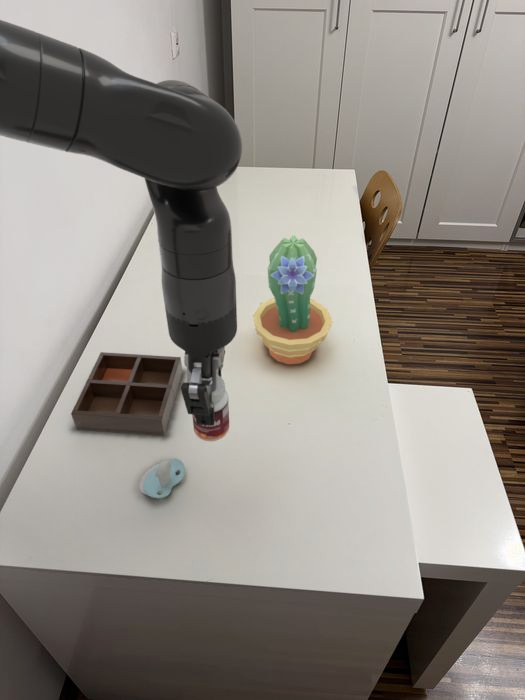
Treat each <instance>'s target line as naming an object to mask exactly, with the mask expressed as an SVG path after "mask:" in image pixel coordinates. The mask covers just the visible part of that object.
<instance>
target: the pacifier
mask: <svg viewBox="0 0 525 700" xmlns="http://www.w3.org/2000/svg"><path fill="white" fill-rule="evenodd" d="M185 467H186V466H185V464H184V462H183V461H182V460H180V459H179V458H165V459H164V460H163V461H161V462H159V463H157V464H154V465H153V466H150V468H149V469H147V470H146V472H145V473H144V474H143V475H142V478H140V482H139V486H138V487H139V491H140V492H141V494H143V495H145V496H149V497H150V498H152V499H159V500H160V499H165V498H166V497H168V496H169V495H170V494H171V492H172V488H173V487H174V486H176V485H178V484H179V483H181V481H182V480H183V478H184V477H185V473H186V468H185ZM177 472H179V474H178V475H177V474H176V473H177Z"/></svg>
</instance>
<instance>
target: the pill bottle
mask: <svg viewBox="0 0 525 700" xmlns="http://www.w3.org/2000/svg"><path fill="white" fill-rule="evenodd" d="M221 377H222V376H221ZM221 377H220V376H219V375H218V386H217V389H216V390H215V391H214V401H215V403H214V412H215V422H214V425H212V426H208V425H199V424H197V422H196V415H195V414H191V415H192V425H193V431H194V434H195V436H197V437H196V438H198V439H200V440H202V441H204V442H217V441H220V440H222V439H224V438H225V437H226V436H227V434H228V433H229V430H230V405H229V402H230V401H229V393H228V391H227V390H226V383H225V380H224V379H223V378H221ZM202 380H208V381H211V380H212V377H211V378H209V379H203V378H202Z"/></svg>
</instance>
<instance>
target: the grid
mask: <svg viewBox="0 0 525 700" xmlns="http://www.w3.org/2000/svg"><path fill="white" fill-rule="evenodd" d="M183 373H184V372H183V365H182V358H181V356H170V355H169V356H168V355H167V356H166V355H155V354H154V355H151V354H138V353H137V354H136V353H122V352H121V353H119V352H103V351H101V352H100V353H99V355H98V357H97V359H96V361H95V363H94V365H93V367H92V369H91V371H90V373H89V376H88V378H87V380H86V382H85V384H84V386H83V387H82V390H81V392H80V394H79V396H78V398H77V400H76V402H75V404H74V406H73V409H72V410H71V412H70V415H71V418H72V420H73V423H74V426H75V428H76V430H84V431H95V432H111V433H123V434H137V435H152V436H165V435H166V432H167V429H168V426H169V423H170V422H169V421H170V418H171V414H172V411H173V407H174V404H175V401H176V397H177V394H178V390H179V387H180V385H181V380H182V377H183Z"/></svg>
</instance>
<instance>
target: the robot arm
mask: <svg viewBox="0 0 525 700" xmlns="http://www.w3.org/2000/svg"><path fill="white" fill-rule="evenodd" d="M0 137H5V138H8V139H12V140H15V141H20V142H23V143H27V144H31V145H35V146H40V147H44V148H48V149H52V150H56V151H59V152H65V153H69V154H74V155H80V156H86V157H90V158H94V159H95V160H96V159H97V160H99V161H102V162H104V163H106V164H108V165H111V166H113V167H115V168H118V169H120V170H123V171H124V172H128V173H130V174H133V175H134V176H138V177H141V178H143V179H144V182H145V187H146V189H147V192H148V195H149V198H150V202H151V206H152V209H153V212H154V217H155V222H156V234H157V243H158V244H157V245H158V251H159V256H160V257H159V258H160V264H161V265H160V266H161V289H162V297H163V303H164V309H165V310H164V311H165V316H166V324H167V329H168V336H169V338H170V340H171V342H172V343H174V345H176V346H177V347H178V348H179V349H181V350H182V351H184V357H183V358H184V366H185V367H186V381H185V382H184V381H183V382H182V384H181V386H180V391H181V395H182V398H183V401H184V405H185V408H186V411H187V414H188V415H192V414H195V415H196V422H197V424H199V425H208V426H212V425H214V422H215V412H214V403H215V401H214V391H215V390H216V389H217V386H218V375H219V376H220V377H221V378H222V370H223V368H224V361H225V355H226V349H225V347H226V346H228V345H229V344H231V342H232V341H233V340H234V339H235V337H236V335H237V331H238V314H237V313H238V312H237V310H238V309H237V307H238V306H237V280H236V279H237V278H236V273H235V267H234V259H233V231H232V221H231V216H230V213H229V211H228V208H227V206H226V205H225V203H224V200H223V199H222V198H221V196H220V193H219V191H218V187H220V186H221V185H222V184H225V183H226V182H227V181H228V180H229V179H231V177H233V175H235V172H236V171H237V169H238V167H239V165H240V162H241V159H242V154H243V142H242V136H241V132H240V128H239V127H238V125H237V123H236V121H235V120H234V118H233V116H232V115H231V114H230V113H229V112H228V110H227V109H226V108H225V107H224V106H222V105H221V104H220V103H218V102H217V101H215V100H214V99H213V98H211V97H209V96H208V95H207V94H205V93H204V92H203V91H201V90H199V89H198V88H196V87H195V86H193V85H191V84H190V83H187V82H186V81H181V80H178V79H177V80H176V79H166V80H162V81H159V82H157V83H155V82H153V81H149V80H147V79H144V78H141V77H138V76H135V75H133V74H130V73H129V72H126V71H124V70H122V69H121V68H119V67H118V66H117V65H115V64H114V63H112V62H111V61H109V60H107V59H105V58H103V57H101V56H99V55H97V54H95V53H94V52H91V51H88V50H86V49H84V48H81V47H77V46H76V45H73V44H70V43H67V42H66V41H65V42H64V41H61V40H59V39H56V38H55V37H51V36H48V35H46V34H42V33H39V32H37V31H34V30H31V29H28V28H26V27H23V26H20V25H17V24H14V23H11V22H8V21H6V20H2V19H0ZM211 377H212V380H211V381H208V380H202V378H203V379H209V378H211ZM222 379H223V378H222Z"/></svg>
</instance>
